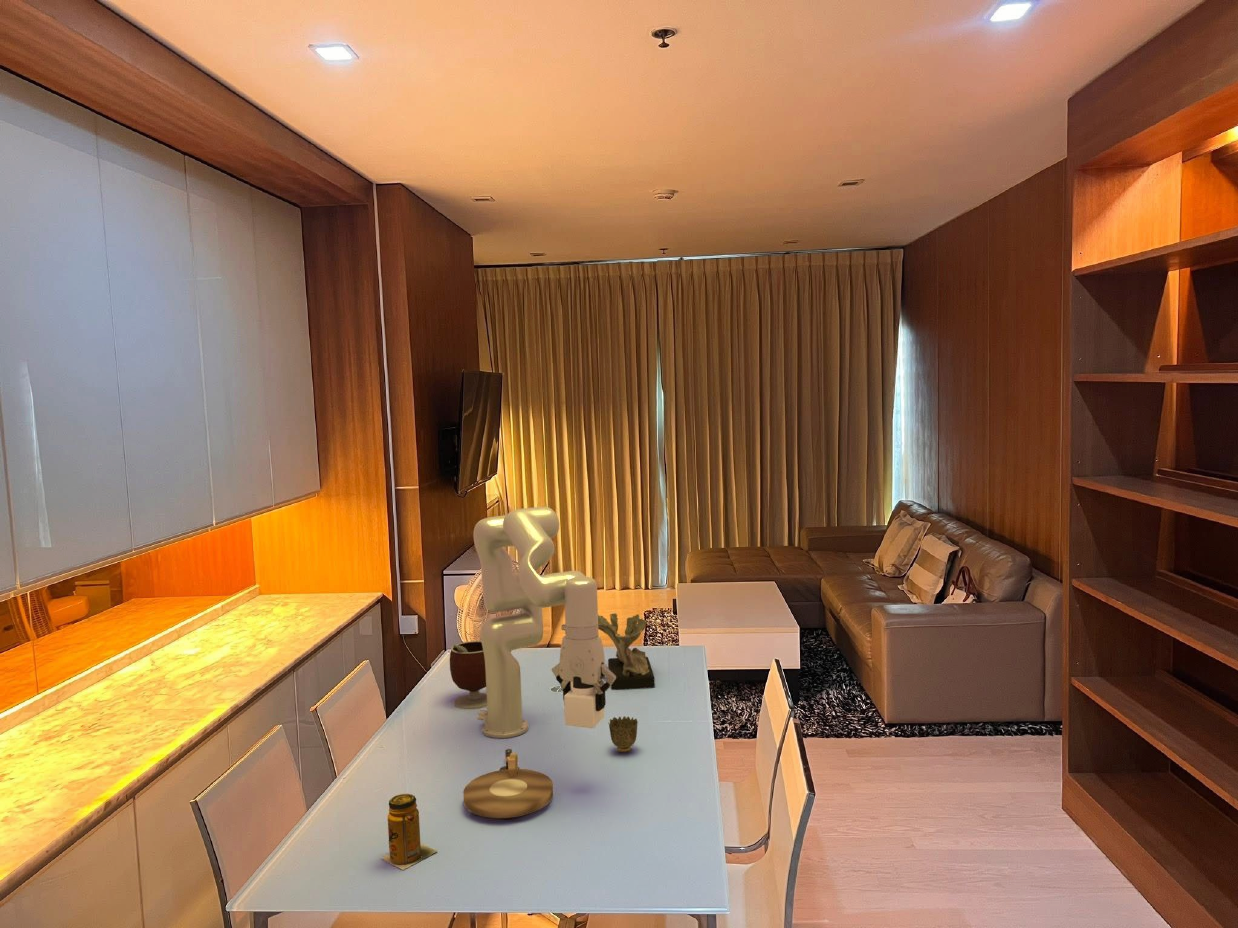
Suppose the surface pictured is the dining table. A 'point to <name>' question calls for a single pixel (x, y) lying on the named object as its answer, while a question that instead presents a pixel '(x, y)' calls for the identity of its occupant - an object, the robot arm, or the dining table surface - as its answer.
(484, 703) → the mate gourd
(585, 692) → the medicine bottle
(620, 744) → the brown textured pot
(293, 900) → the dining table surface
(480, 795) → the disc
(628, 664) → the coral
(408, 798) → the condiment
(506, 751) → the joystick
